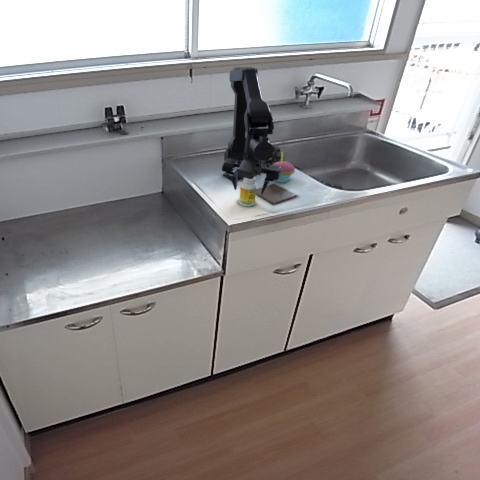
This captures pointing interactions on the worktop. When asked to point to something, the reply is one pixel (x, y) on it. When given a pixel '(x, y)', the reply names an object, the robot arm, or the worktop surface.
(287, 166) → the cupcake
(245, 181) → the supplement bottle
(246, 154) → the robot arm
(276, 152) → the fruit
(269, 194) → the plate
